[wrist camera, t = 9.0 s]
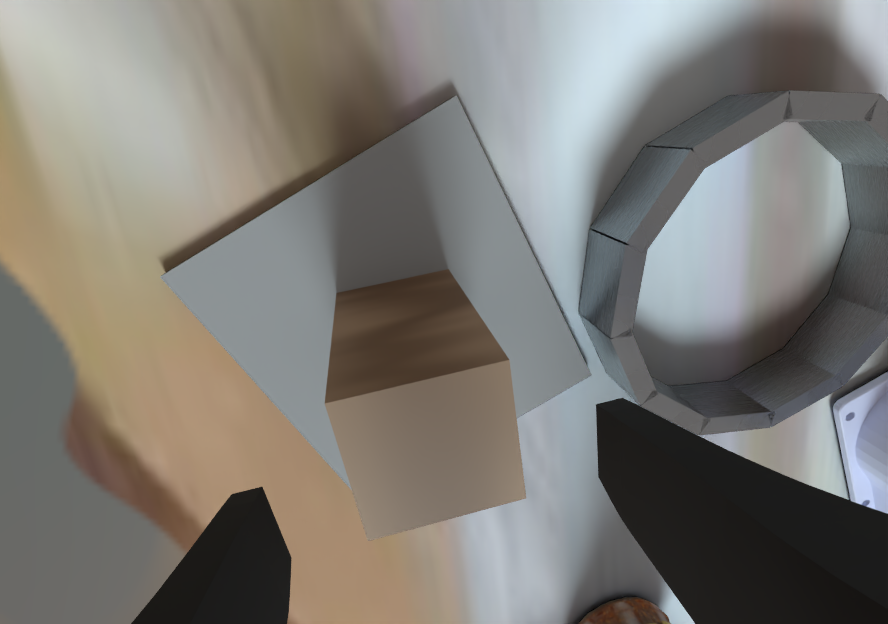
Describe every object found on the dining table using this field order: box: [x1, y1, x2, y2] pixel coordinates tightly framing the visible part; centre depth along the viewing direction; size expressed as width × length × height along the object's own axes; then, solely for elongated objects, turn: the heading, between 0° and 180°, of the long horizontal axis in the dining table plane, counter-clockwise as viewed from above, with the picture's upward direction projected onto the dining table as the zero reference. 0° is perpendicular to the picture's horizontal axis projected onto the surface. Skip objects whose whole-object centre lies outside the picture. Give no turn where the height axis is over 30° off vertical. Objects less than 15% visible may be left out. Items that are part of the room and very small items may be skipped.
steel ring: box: [579, 91, 888, 435], centre depth 18 cm, size 13×13×2 cm
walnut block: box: [325, 269, 526, 541], centre depth 14 cm, size 4×4×7 cm
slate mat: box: [161, 96, 591, 490], centre depth 17 cm, size 12×11×1 cm
